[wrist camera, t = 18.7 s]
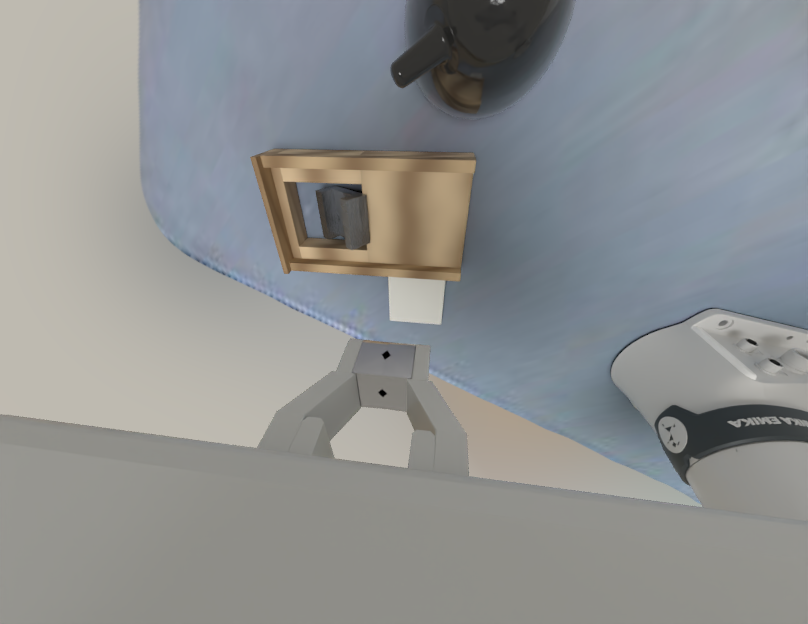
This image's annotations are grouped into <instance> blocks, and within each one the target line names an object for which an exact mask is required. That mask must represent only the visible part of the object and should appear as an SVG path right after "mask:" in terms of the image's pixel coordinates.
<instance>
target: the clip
mask: <svg viewBox="0 0 808 624" xmlns="http://www.w3.org/2000/svg"><path fill="white" fill-rule="evenodd" d="M316 196H317V202H318V207H319V213H320V218H321V224H322V229H323V235H324V237H325V238H327V239H332V238H335V237H337V236H342V237H345V243H346V248H348V249H350V250H354V249H356V248H359V247H361V246H364V245H366V244H368V243H370V234H369V221H368V208H367V196H366V195H365V194H362V193H358V192H355V191H352V190H348V189H345V188H341V187H338V186H332V187H328V188H324V189H320V190H316Z"/></svg>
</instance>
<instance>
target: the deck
mask: <svg viewBox="0 0 808 624" xmlns="http://www.w3.org/2000/svg"><path fill="white" fill-rule="evenodd" d="M250 158H251V161H252V165H253V168H254V171H255V175H256V178H257V182H258V185H259V189H260V192H261V195H262V199H263V202H264V206H265V209H266V213H267V216H268V219H269V223H270V226H271V230H272V233H273V237H274V240H275V243H276V247H277V250H278V254H279V257H280V261H281V264H282V267H283V271H284V274H289V273H290V271H291V270H293V271H308V272H323V273H339V274H354V275H369V276H385V277H400V278H415V279H431V280H446V281H460V277H461V262H462V255H463V247H464V239H465V232H466V224H467V217H468V209H469V202H470V194H471V187H472V179H473V173H475V166H476V158H475V155H474V153H459V152H410V151H360V150H311V149H272V150H269V151H266V152H264V153H261V154H258V155H255V156H252V157H250ZM296 182H311V183H342V184H362V194H365V195H366V196H367V208H368V221H369V234H370V243H368V244H366V245H364V246H361V247H359V248H356V249H354V250H350V249H348V248H346V243H345V240H340V239H322V238H307V233H306V228H305V224H304V219H303V215H302V210H301V205H300V201H299V196H298V192H297V187H296Z"/></svg>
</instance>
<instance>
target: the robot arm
mask: <svg viewBox="0 0 808 624" xmlns="http://www.w3.org/2000/svg"><path fill="white" fill-rule="evenodd" d="M429 361H430V346H429V345H415V344H402V343H388V342H379V341H370V340H359V339H350V340H349V341H348V343H347V346H346V348H345V351H344V353H343V356H342V358H341V360H340V363H339V365H338V368H337V370H336V371H332V372H330V373H329V374H328V375H326V376H325V377H323V378H322V379H321V380H319V381H318V382H317V383H315V384H314V385H312V386H311V387H310V388H309V389H307V390H306V391H304V392H303V393H302V394H300V395H299V396H297V397H296V398H295V399H293V400H292V401H291V402H289V403H288V404H286V405H285V406H284V407H282V408H281V409H280V410H278V411H277V412H276V414H275V416H274V417H273V419H272V421H271V423H270V425H269V427H268V429H267V431H266V432H265V434H264V436H263V438H262V440H261V441H260V443H259V445H258V447H257V448H252V447H244V446H236V445H229V444H221V443H214V442H207V441H199V440H192V439H184V438H177V437H169V436H162V435H154V434H147V433H139V432H132V431H124V430H116V429H109V428H102V427H94V426H87V425H79V424H72V423H64V422H56V421H49V420H41V419H34V418H27V417H19V416H12V415H0V624H808V330H805V329H801V328H796V327H792V326H788V325H784V324H780V323H775V322H771V321H767V320H763V319H759V318H754V317H750V316H746V315H742V314H738V313H734V312H729V311H725V310H721V309H709V310H706V311H704V312H702V313H699V314H698V315H696V316H694V317H692V318H690V319H688V320H687V321H685V322H683V323H680V324H678V325H675V326H671V327H668V328H665V329H661V330H658V331H656V332H653V333H651V334H648V335H646V336H644V337H642V338H640V339H639V340H637V341H635V342H634V343H632V344H631V345H629V346H628V347H627V348H626V349H624V350H623V351H622V352H621V353H620V354H619V356H618V357H617V358H616V360H615V361H614V363H613V365H612V369H611V378H612V380H613V382H614V384H615V385H616V386H617V387H618V388H619V389H620V390H621V391H622V392H623V393H624V394H625V395H626V396H627V397H628V398H629V399H630V402H631V403H632V404H633V406H634V407H635V408H636V409H638V410H639V412H640V413H641V414H642V415H643V417H644V418H645V419H646V421H647V422H648V423H649V425H650V426H651V427H652V429H653V430H654V431H655V432H656V434H657V435H658V437H659V440H660V442H661V444H662V447H663V450H664V451H665V453H666V455H667V456H668V458H669V460H670V461H671V463H672V465H673V467H674V469H675V470H676V472H677V473H678V474H679V476H680V477H681V479H682V480H683V481H684V482H685V483H686V484H687V485H689V486H691V488H692V489H693V491H694V493H695V494H696V496H697V498H698V499H699V501H700V503H701V504H702V506H703V507H696V506H688V505H681V504H673V503H666V502H658V501H651V500H643V499H635V498H628V497H620V496H613V495H605V494H598V493H590V492H582V491H575V490H567V489H559V488H552V487H545V486H537V485H529V484H522V483H515V482H507V481H499V480H492V479H484V478H477V477H469V470H468V469H469V467H468V446H467V434H466V432H465V431H464V429H463V428H462V427H461V425H460V423H459V422H458V420H457V419H456V417H455V416H454V414H453V413H452V411H451V410H450V408H449V407H448V405H447V403H446V402H445V400H444V399H443V397H442V396H441V394H440V393H439V391H438V390H437V388H436V387H435V385H434V384H433V382H432V381H428V374H429ZM361 407H371V408H382V409H390V410H397V411H405V412H407V415H408V417H409V419H410V421H411V423H412V426H413V428H414V430H415V431H414V432H413V433H412V440H411V447H410V455H409V463H408V468H402V467H395V466H387V465H380V464H372V463H364V462H356V461H349V460H342V459H335V458H334V455H333V451H332V448H331V445H330V440H331V439H332V438H333V437H334V436H335V435H336V434H337V432H339V431H340V430H341V429H342V428H343V426H344V425H345V424H346V423H347V422H348V421H349V420H350V419H351V418H352V417H353V416H354V415H355V414H356V413H357V412H358V411H359V409H360V408H361Z"/></svg>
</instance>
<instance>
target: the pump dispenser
mask: <svg viewBox="0 0 808 624" xmlns="http://www.w3.org/2000/svg"><path fill="white" fill-rule="evenodd" d="M575 2H576V0H406V7H405V22H404V30H405V44H406V51H405V52H404V53H403V54H402V55H401V56H400V57H399V58H397V59H396V60H395V61H394V62H393V63H392V65H391V76H392V78H393V80H394V82H395V84H396V85H397V86H398V87H400V88H404V87H406V86H407V85H409V84H411V83H412V82H414V81H415V80H416V82H417V84H418V86H419V88H420V89H421V91H422V92H423V94H424V95H425V96H426V97H427V99H428V100H429V101H430V102H431V103H432V104H433V105H434V106H436V107H437V108H438V109H440V110H441V111H443V112H444V113H446V114H448V115H451V116H453V117H457V118H461V119H482V118H487V117H490V116H493V115H496V114H498V113H500V112H502V111H504V110H506V109H508V108H509V107H511V106H512V105H514V104H515V103H516V102H518V101H519V100H520V99H521V98H523V97H524V96H525V95H526V94H527V93H528V92H529V91H530V90H531V89H532V88H533V87H534V86H535V85H536V83H537V82H538V81H539V80H540V79H541V77H542V76H543V75H544V73H545V72H546V70H547V69H548V67H549V66H550V64H551V63H552V61H553V60H554V58H555V56H556V54H557V52H558V50H559V48H560V46H561V44H562V42H563V40H564V37H565V35H566V32H567V30H568V27H569V24H570V21H571V18H572V14H573V10H574V6H575Z"/></svg>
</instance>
